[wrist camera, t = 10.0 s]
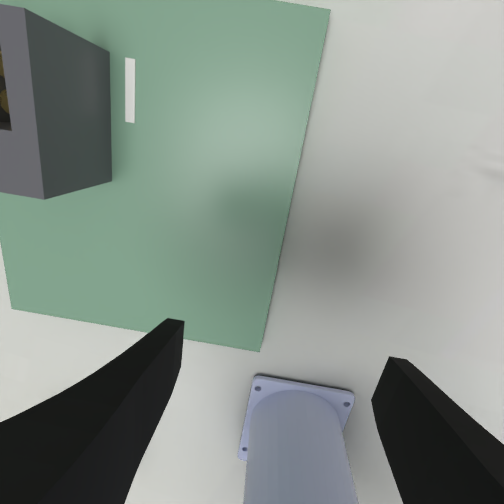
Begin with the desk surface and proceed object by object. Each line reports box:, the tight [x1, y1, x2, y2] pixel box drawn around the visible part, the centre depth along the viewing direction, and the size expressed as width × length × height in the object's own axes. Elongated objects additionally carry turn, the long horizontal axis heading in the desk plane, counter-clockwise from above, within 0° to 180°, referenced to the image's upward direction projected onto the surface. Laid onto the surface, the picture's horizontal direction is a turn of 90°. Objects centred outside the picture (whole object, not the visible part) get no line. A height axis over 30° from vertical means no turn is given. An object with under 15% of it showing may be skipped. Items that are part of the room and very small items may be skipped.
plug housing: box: [0, 4, 112, 200], centre depth 14 cm, size 6×5×6 cm
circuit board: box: [0, 0, 331, 352], centre depth 18 cm, size 20×18×1 cm
